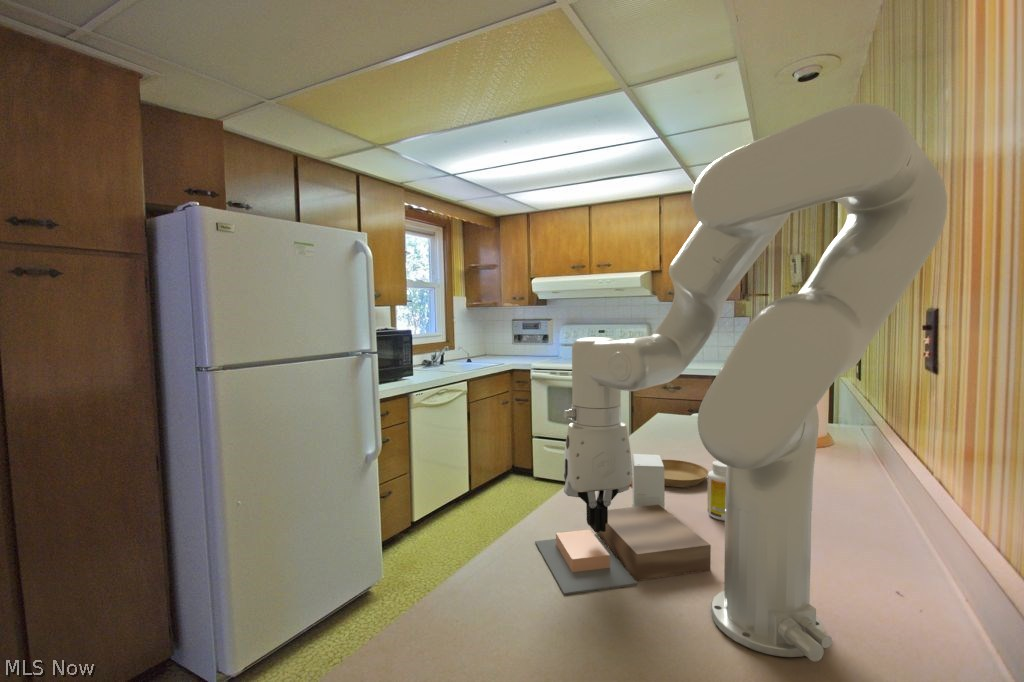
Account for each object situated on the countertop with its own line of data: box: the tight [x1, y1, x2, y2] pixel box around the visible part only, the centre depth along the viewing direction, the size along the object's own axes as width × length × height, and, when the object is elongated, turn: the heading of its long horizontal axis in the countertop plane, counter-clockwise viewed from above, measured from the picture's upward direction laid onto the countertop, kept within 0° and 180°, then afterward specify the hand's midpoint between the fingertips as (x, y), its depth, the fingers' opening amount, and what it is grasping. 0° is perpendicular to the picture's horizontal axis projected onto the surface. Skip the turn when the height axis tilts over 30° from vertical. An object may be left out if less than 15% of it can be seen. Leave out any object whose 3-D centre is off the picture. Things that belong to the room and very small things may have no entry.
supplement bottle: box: [707, 460, 727, 522], centre depth 94 cm, size 6×6×10 cm
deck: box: [596, 505, 712, 582], centre depth 82 cm, size 16×12×4 cm
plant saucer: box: [662, 459, 710, 488], centre depth 116 cm, size 15×15×3 cm
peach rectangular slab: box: [555, 529, 610, 572], centre depth 80 cm, size 9×6×2 cm, turn 11°
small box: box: [631, 453, 666, 510], centre depth 97 cm, size 8×6×10 cm
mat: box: [535, 533, 638, 596], centre depth 78 cm, size 16×11×1 cm
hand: (597, 528), depth 80 cm, fingers closed
